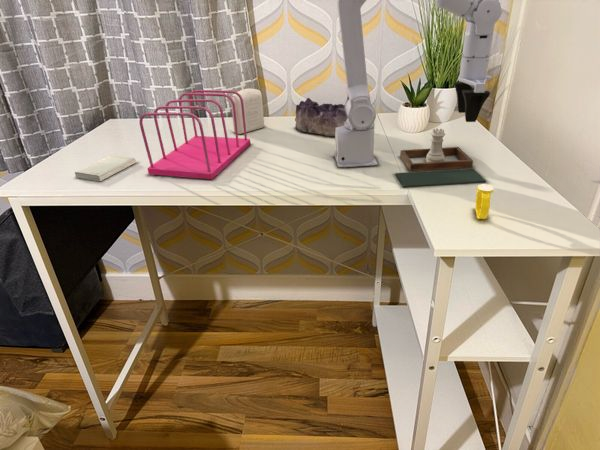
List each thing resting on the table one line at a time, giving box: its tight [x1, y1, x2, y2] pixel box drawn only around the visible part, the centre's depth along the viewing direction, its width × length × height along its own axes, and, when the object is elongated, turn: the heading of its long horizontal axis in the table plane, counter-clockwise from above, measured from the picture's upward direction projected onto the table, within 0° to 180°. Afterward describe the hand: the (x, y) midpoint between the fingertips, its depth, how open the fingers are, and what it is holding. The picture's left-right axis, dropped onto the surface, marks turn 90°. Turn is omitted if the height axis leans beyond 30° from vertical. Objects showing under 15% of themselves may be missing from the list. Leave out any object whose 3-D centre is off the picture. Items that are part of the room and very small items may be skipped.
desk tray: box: [399, 146, 474, 172], centre depth 104 cm, size 15×10×2 cm, turn 93°
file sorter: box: [139, 89, 252, 180], centre depth 110 cm, size 17×25×16 cm
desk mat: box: [395, 168, 487, 188], centre depth 96 cm, size 18×7×1 cm, turn 93°
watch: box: [475, 183, 495, 220], centre depth 80 cm, size 6×3×6 cm, turn 168°
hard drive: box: [74, 154, 137, 182], centre depth 110 cm, size 2×8×12 cm
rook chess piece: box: [425, 127, 446, 162], centre depth 103 cm, size 4×4×8 cm
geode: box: [294, 97, 348, 137], centre depth 127 cm, size 20×12×10 cm, turn 64°
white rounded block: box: [230, 88, 265, 135], centre depth 131 cm, size 10×4×12 cm, turn 134°
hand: (466, 116), depth 102 cm, fingers open, 7 cm apart
